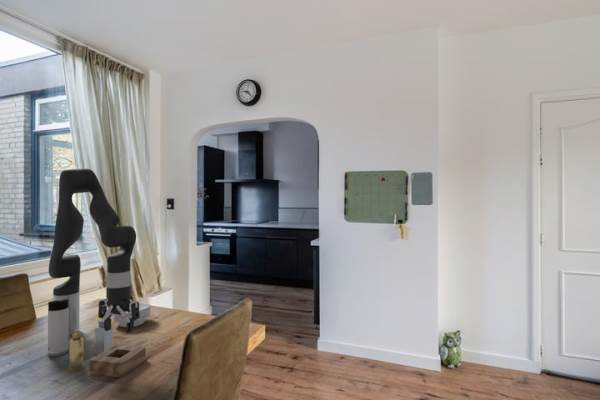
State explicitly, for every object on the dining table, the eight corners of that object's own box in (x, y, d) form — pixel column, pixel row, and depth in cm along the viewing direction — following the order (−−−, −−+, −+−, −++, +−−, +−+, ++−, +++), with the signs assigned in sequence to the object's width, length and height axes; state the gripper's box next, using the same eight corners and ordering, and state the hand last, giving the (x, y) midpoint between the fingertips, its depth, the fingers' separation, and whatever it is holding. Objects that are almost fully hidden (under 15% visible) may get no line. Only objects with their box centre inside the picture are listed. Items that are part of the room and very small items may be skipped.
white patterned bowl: (118, 319, 159) (118, 302, 159) (153, 317, 162) (153, 300, 162) (108, 331, 144) (108, 313, 144) (146, 329, 147) (146, 311, 147)
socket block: (89, 373, 110) (89, 360, 110) (116, 356, 122) (116, 344, 122) (121, 377, 107) (121, 363, 107) (145, 359, 119) (145, 347, 119)
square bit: (94, 354, 123) (95, 322, 123) (103, 349, 127) (103, 318, 127) (104, 355, 123) (104, 322, 122) (112, 350, 126) (112, 319, 126)
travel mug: (45, 358, 120) (46, 303, 120) (49, 351, 125) (49, 298, 125) (67, 355, 123) (67, 300, 122) (69, 347, 128) (69, 296, 128)
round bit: (66, 370, 112) (66, 335, 111) (76, 364, 115) (76, 330, 115) (76, 372, 111) (76, 336, 111) (86, 366, 115) (86, 331, 115)
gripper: (92, 285, 112) (92, 334, 112) (129, 288, 109) (129, 337, 109) (109, 280, 119) (109, 325, 119) (144, 282, 117) (144, 328, 117)
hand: (118, 331), depth 114 cm, fingers open, 8 cm apart
